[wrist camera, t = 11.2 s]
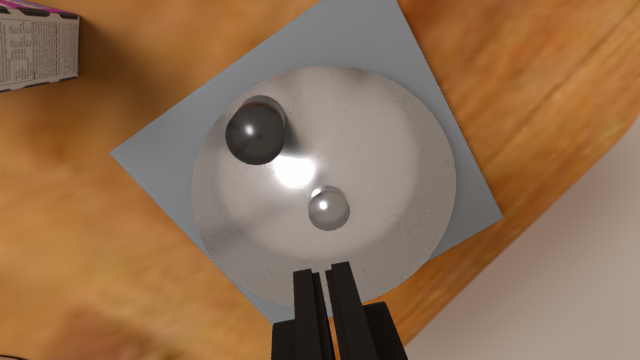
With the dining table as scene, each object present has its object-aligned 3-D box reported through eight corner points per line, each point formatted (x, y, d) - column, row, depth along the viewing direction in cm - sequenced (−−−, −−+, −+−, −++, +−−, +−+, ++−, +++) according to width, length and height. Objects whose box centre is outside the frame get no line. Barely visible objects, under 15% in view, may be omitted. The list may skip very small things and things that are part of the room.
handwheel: (484, 215, 30) (537, 262, 24) (297, 329, 33) (299, 398, 27) (363, 2, 23) (392, -13, 17) (141, 169, 26) (93, 210, 20)
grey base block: (288, 322, 38) (287, 349, 34) (122, 144, 29) (102, 156, 26) (489, 206, 34) (510, 223, 31) (368, -33, 26) (379, -43, 23)
